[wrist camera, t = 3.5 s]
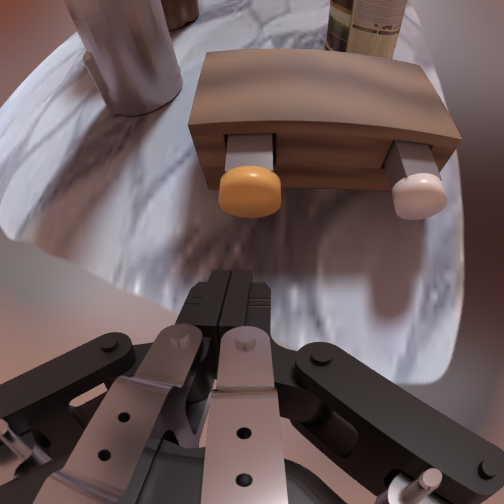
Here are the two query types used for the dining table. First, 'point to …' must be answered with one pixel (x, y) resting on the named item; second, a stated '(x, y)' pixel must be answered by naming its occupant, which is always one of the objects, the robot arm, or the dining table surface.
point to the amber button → (249, 177)
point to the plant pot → (179, 12)
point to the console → (317, 114)
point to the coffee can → (365, 26)
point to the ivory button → (414, 180)
